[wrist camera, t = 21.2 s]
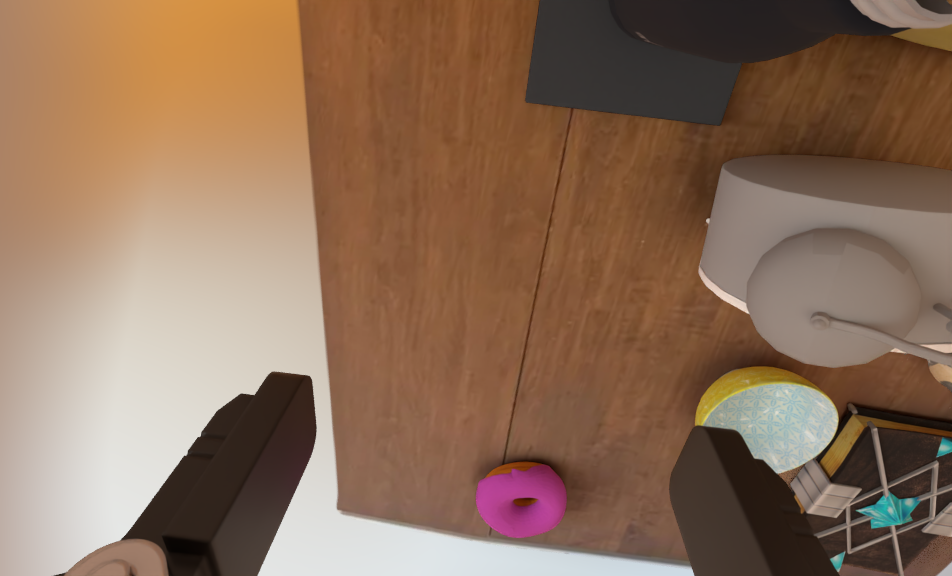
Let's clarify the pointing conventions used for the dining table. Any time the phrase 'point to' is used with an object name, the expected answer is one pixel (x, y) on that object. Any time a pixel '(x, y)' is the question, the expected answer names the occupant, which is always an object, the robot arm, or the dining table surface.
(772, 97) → the dining table surface
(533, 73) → the mat
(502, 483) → the donut
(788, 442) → the bowl
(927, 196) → the alarm clock
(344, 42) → the dining table surface
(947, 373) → the vase
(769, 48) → the insulated water bottle
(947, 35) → the banana
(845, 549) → the book
